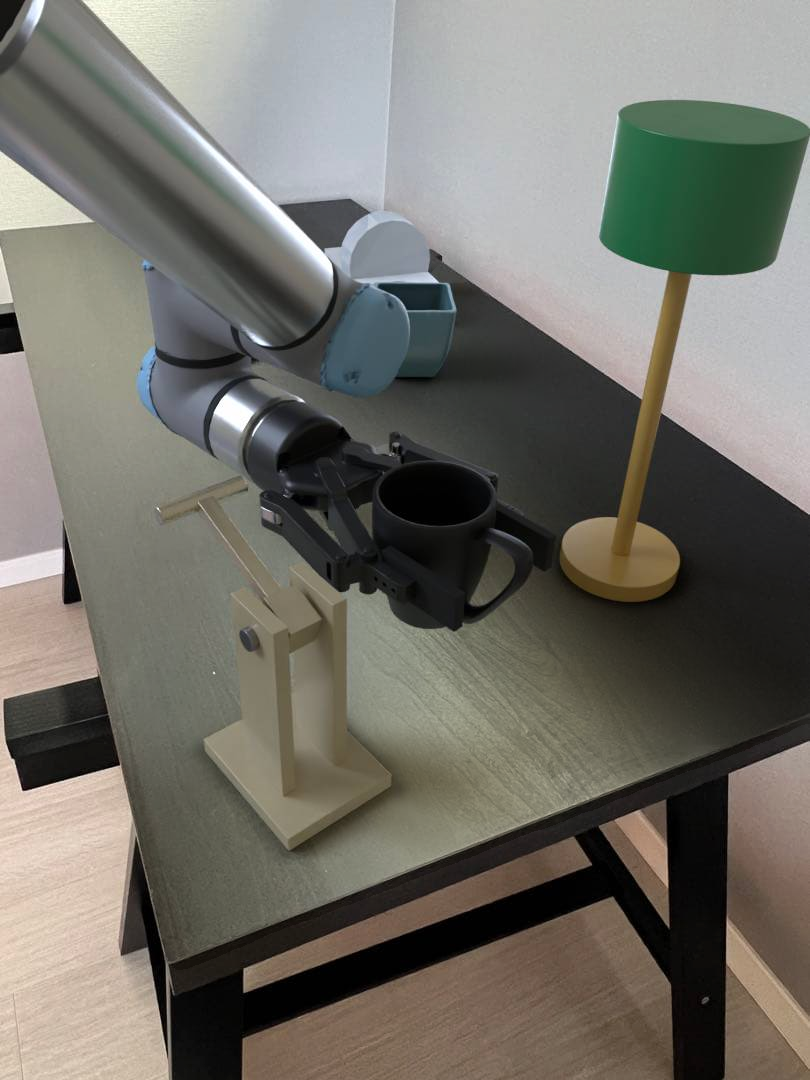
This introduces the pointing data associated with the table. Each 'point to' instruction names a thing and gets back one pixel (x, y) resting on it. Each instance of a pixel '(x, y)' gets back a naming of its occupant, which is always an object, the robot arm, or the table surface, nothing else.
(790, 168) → the lamp
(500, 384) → the table surface
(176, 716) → the table surface
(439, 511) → the mug
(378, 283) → the flower pot
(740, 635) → the table surface
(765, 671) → the table surface
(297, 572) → the beige wooden upright stand
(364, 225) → the tape dispenser
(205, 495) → the switch
